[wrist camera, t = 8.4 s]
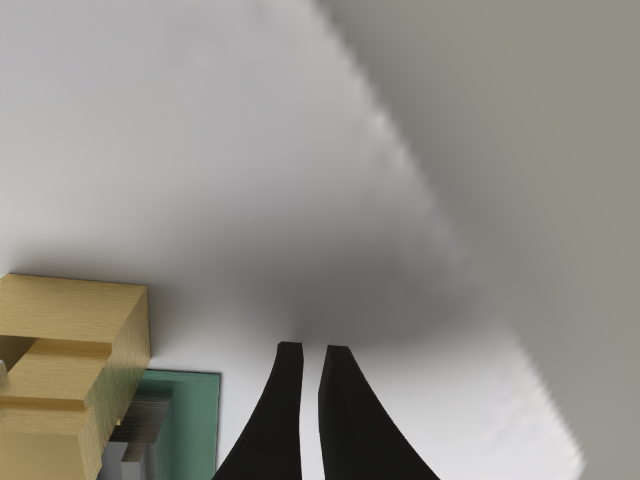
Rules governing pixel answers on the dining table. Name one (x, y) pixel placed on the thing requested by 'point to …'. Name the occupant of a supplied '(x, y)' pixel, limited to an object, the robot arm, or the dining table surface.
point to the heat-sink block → (166, 430)
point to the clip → (66, 372)
